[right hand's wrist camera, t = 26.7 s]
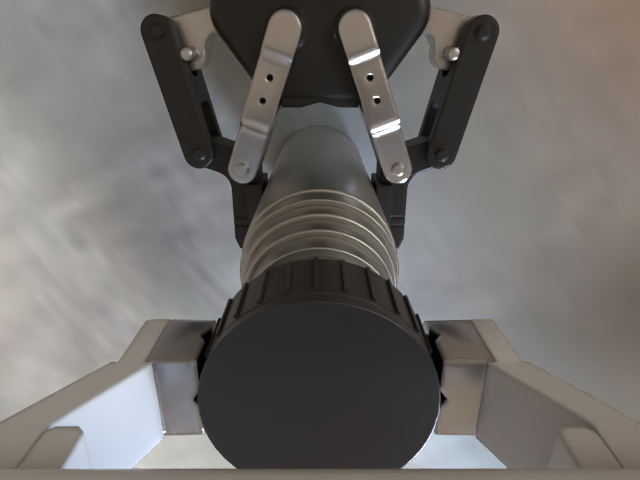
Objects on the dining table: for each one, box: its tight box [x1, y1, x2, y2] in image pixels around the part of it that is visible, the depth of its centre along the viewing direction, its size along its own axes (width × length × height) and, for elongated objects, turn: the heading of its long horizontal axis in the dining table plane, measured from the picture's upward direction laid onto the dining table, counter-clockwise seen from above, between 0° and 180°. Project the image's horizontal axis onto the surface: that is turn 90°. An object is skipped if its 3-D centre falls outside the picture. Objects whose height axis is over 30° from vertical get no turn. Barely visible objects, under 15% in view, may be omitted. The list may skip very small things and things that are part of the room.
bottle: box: [240, 126, 399, 288], centre depth 18 cm, size 5×5×19 cm
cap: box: [198, 257, 441, 469], centre depth 9 cm, size 5×5×2 cm
